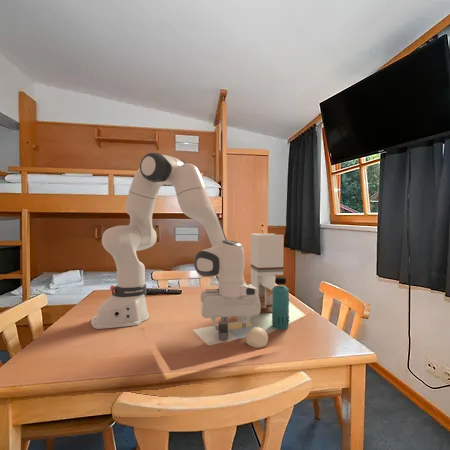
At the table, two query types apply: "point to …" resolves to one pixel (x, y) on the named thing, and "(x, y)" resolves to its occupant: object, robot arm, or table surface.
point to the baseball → (257, 337)
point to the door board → (212, 335)
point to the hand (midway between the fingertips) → (230, 328)
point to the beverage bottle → (280, 304)
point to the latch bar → (223, 330)
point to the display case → (266, 266)
